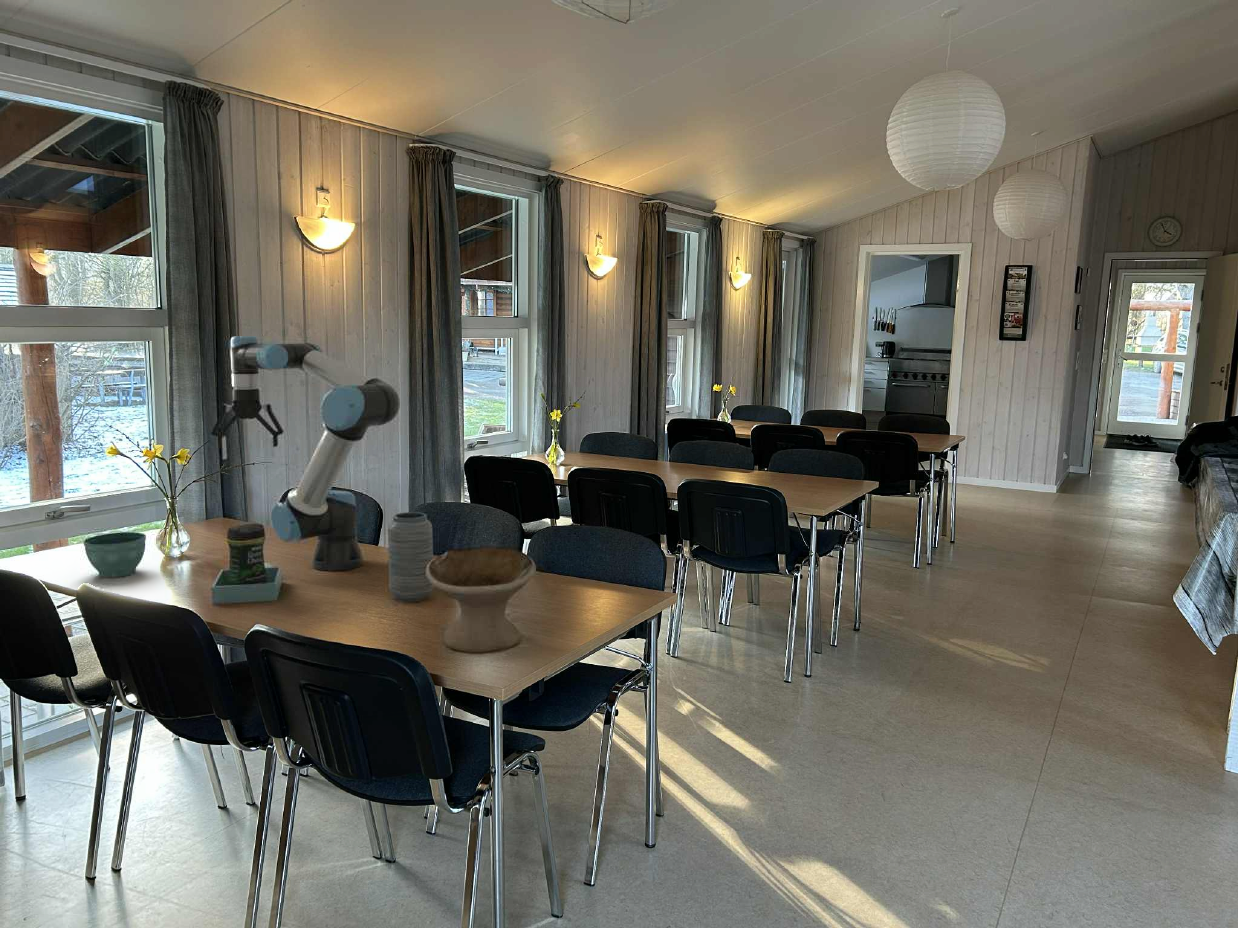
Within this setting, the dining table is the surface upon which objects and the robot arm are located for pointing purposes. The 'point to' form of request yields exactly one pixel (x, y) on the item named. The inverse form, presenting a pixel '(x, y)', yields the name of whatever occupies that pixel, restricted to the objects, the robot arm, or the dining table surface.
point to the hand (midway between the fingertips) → (249, 458)
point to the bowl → (481, 594)
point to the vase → (409, 556)
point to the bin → (247, 588)
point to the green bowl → (115, 553)
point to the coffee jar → (246, 554)
